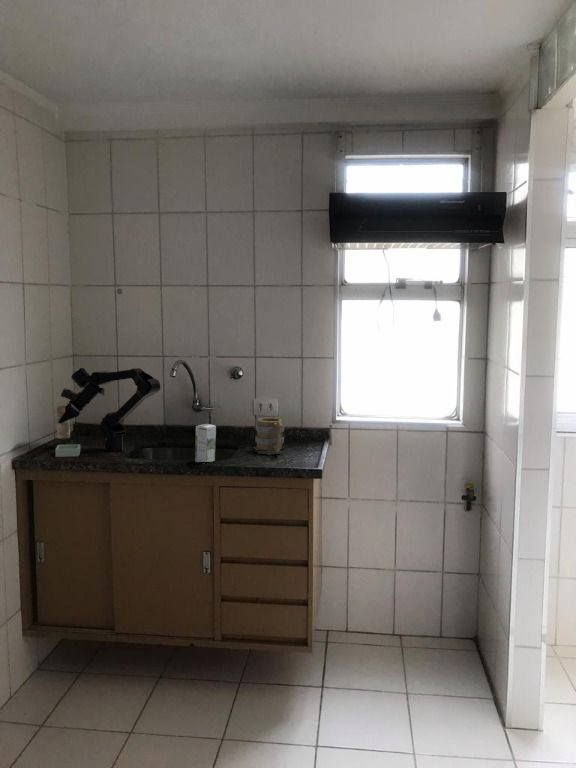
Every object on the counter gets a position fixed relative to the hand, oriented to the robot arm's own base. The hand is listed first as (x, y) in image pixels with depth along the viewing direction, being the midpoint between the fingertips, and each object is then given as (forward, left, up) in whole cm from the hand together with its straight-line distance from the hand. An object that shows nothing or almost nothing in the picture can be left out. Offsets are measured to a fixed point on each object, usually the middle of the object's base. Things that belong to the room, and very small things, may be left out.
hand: (59, 421), depth 273 cm
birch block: (-2, 0, -7) cm, 7 cm away
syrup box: (-57, +32, -12) cm, 67 cm away
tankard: (-86, +21, -12) cm, 90 cm away
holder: (-4, +12, -11) cm, 17 cm away
